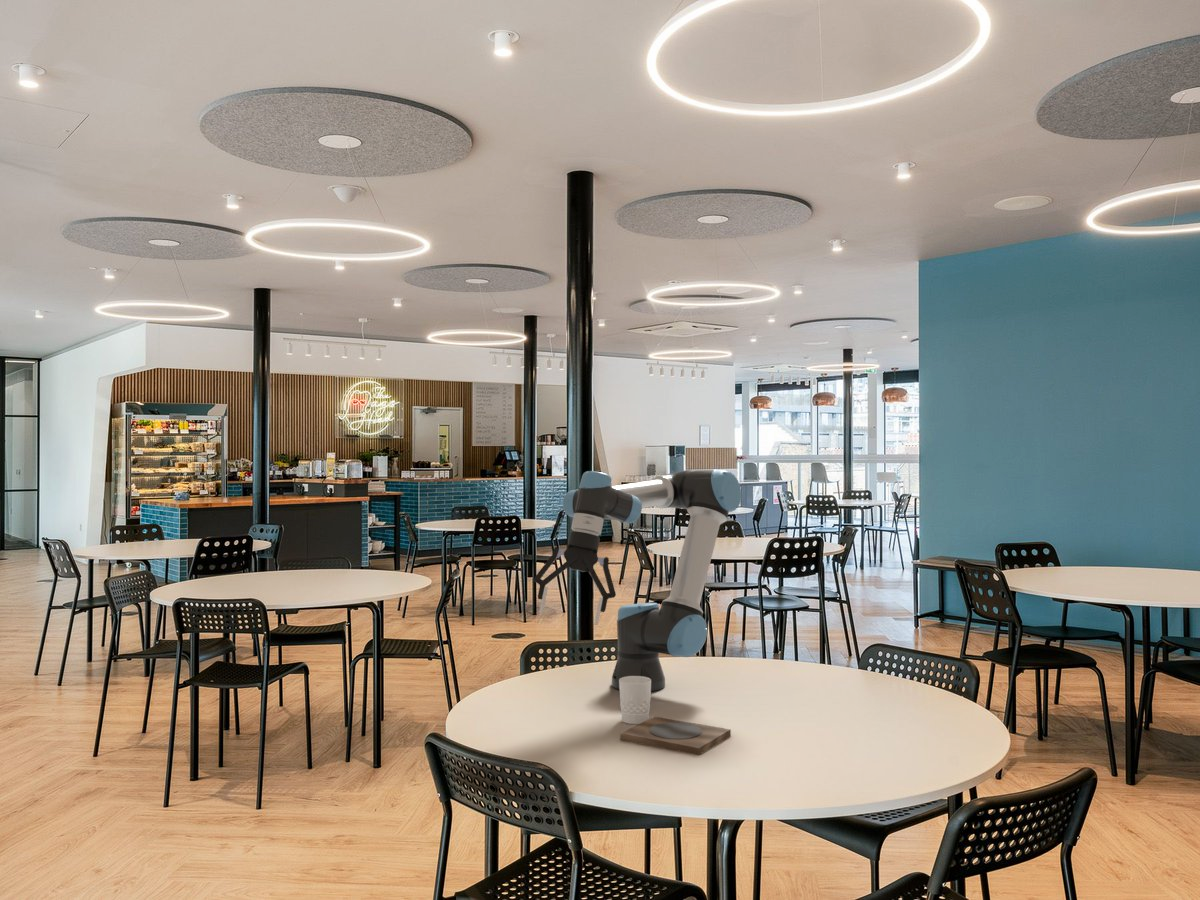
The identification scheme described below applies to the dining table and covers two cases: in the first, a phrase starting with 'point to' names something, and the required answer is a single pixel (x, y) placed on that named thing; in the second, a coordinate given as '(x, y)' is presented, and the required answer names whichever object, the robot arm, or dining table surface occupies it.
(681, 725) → the board
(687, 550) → the robot arm
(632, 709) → the white cup
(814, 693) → the dining table surface
